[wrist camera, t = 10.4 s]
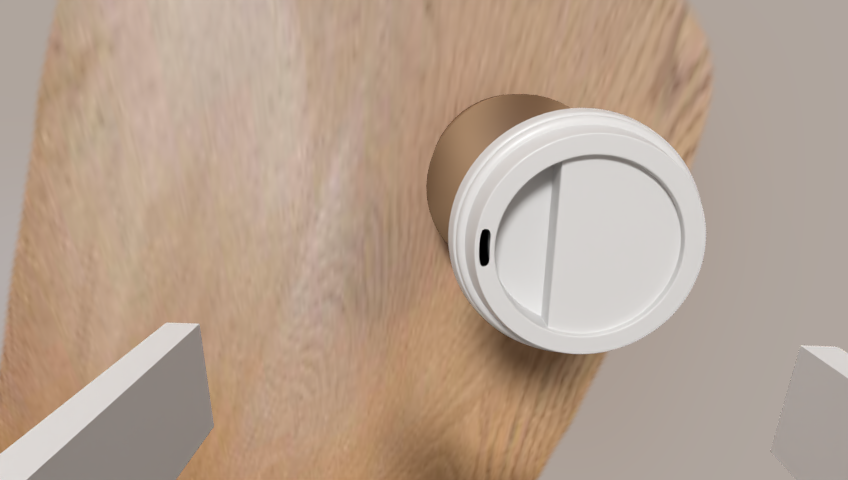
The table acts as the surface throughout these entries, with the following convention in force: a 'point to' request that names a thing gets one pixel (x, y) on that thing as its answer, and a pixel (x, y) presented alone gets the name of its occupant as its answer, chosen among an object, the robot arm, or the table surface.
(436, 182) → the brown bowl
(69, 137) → the table surface
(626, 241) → the coffee cup
